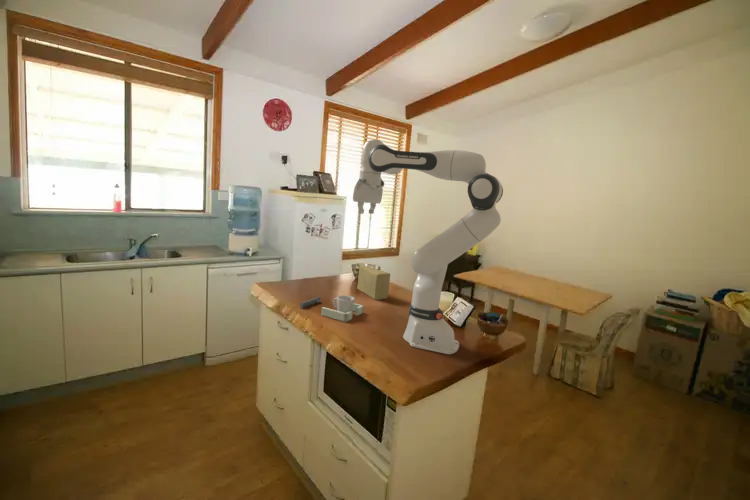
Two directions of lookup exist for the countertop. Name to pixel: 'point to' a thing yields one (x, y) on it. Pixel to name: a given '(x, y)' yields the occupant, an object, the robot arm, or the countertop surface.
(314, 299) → the rail
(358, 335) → the countertop surface
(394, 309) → the countertop surface
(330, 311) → the cradle
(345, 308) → the cup
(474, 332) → the countertop surface
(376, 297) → the khaki rectangular box
